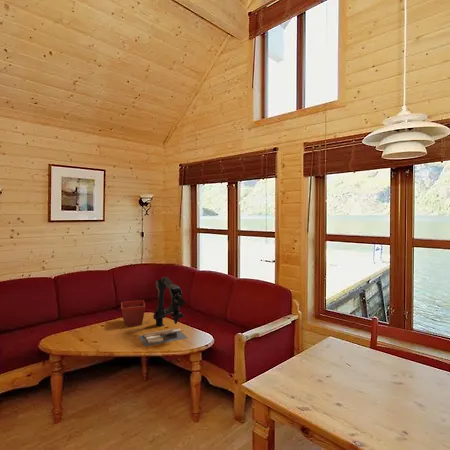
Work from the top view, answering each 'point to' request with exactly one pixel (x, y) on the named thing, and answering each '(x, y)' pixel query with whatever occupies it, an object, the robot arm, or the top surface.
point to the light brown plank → (156, 333)
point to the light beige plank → (154, 339)
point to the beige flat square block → (172, 332)
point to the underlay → (164, 338)
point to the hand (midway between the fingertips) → (175, 323)
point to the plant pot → (133, 312)
